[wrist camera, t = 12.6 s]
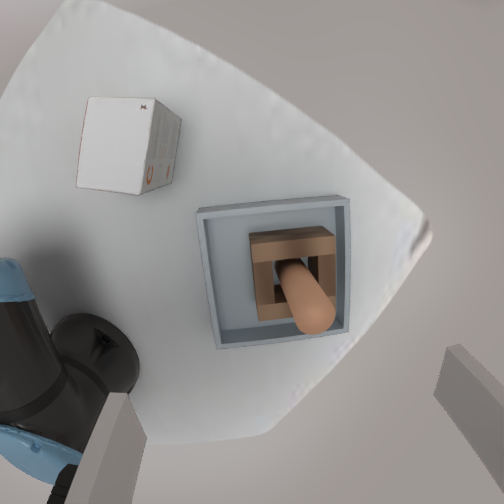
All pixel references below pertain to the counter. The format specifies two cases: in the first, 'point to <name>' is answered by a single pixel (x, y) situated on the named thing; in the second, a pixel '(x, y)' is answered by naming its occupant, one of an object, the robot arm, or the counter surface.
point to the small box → (127, 145)
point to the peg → (304, 297)
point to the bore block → (288, 247)
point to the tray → (240, 267)
